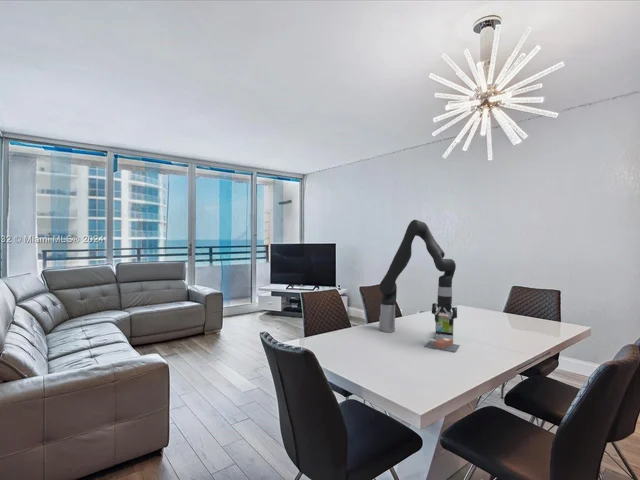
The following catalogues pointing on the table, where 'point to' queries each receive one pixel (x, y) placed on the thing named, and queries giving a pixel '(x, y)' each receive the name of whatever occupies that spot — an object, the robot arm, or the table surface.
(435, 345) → the card box
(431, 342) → the mat
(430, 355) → the table surface
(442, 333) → the tea box
